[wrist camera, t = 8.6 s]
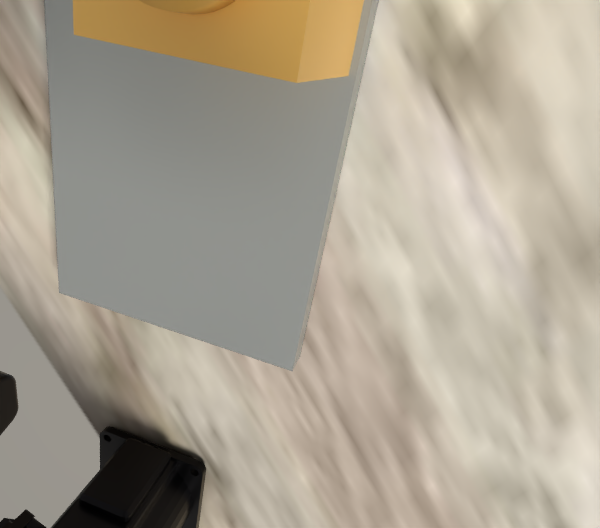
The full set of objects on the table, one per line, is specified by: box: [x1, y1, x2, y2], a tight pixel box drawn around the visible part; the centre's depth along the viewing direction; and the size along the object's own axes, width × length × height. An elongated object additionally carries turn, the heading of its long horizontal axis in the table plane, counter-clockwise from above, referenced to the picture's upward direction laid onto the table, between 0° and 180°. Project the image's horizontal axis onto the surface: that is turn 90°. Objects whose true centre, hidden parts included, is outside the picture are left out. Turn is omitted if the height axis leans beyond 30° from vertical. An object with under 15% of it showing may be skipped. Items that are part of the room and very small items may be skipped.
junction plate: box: [44, 0, 379, 371], centre depth 17 cm, size 18×12×5 cm, turn 170°
